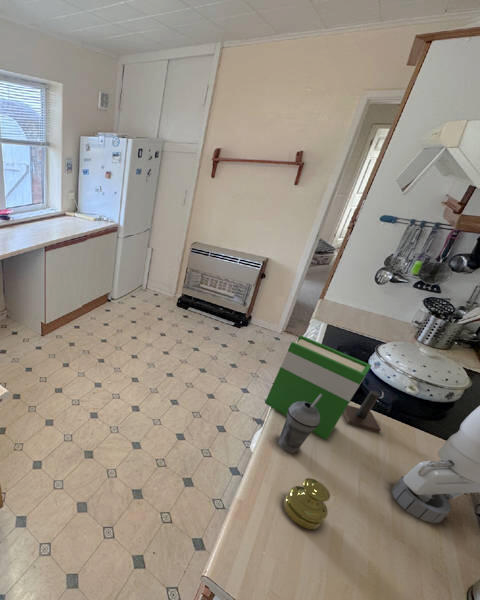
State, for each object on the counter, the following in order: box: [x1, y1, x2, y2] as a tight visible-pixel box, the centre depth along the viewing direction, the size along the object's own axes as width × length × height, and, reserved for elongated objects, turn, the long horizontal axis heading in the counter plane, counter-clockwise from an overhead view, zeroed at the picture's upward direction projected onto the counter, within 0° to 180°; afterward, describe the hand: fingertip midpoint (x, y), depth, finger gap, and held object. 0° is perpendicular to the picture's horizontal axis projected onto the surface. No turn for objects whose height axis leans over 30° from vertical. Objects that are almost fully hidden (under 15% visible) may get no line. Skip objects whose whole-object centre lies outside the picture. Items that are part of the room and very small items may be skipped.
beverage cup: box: [278, 394, 322, 454], centre depth 86 cm, size 7×7×20 cm
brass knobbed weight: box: [283, 477, 331, 530], centre depth 72 cm, size 7×7×10 cm
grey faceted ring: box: [391, 475, 452, 524], centre depth 77 cm, size 9×9×4 cm
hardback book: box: [264, 334, 372, 440], centre depth 96 cm, size 18×7×24 cm, turn 39°
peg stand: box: [342, 390, 381, 434], centre depth 99 cm, size 8×8×11 cm
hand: (433, 498), depth 77 cm, fingers open, 4 cm apart
